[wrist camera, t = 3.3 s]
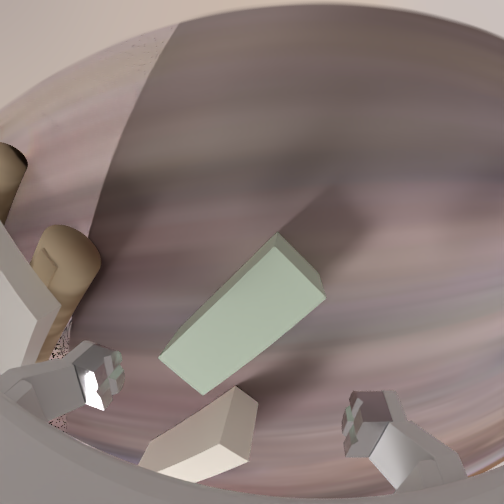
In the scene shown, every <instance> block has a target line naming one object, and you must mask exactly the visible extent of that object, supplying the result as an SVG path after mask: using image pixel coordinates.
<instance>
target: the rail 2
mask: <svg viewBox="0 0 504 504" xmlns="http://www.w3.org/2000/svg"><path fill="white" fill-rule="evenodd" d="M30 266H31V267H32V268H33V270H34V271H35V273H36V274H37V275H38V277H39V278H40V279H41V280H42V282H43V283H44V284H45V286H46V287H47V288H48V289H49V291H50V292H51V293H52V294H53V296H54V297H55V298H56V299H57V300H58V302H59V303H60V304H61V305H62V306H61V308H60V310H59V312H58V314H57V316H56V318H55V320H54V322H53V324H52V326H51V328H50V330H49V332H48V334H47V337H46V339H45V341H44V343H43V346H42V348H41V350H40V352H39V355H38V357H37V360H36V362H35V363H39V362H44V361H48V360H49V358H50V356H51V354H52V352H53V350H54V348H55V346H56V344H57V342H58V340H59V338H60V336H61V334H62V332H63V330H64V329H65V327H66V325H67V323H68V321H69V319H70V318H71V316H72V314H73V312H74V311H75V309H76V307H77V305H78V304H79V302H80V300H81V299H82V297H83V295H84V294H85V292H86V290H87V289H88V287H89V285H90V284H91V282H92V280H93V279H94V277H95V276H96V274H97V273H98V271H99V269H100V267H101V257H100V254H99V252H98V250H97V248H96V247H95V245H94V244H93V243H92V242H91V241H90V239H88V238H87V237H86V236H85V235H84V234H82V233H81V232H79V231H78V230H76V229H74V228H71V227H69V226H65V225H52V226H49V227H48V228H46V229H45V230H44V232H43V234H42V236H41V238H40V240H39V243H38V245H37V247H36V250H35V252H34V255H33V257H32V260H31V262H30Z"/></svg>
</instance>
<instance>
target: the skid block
mask: <svg viewBox="0 0 504 504" xmlns="http://www.w3.org/2000/svg"><path fill="white" fill-rule="evenodd" d="M325 299H326V295H325V291H324V288H323V285H322V282H321V279H320V276H319V273H318V272H317V271H316V270H315V269H314V268H313V267H312V266H311V265H310V264H309V263H308V262H307V261H306V260H305V259H304V258H303V257H302V256H301V255H300V254H299V253H298V252H297V251H296V250H295V249H294V248H293V247H292V246H291V245H290V244H289V243H288V242H287V241H286V240H285V239H284V238H283V237H282V236H281V235H280V234H279V233H278V232H277V233H276V234H275V235H274V236H273V237H271V238H270V239H269V240H268V241H267V242H266V243H265V244H264V245H263V246H262V247H261V248H260V249H259V250H258V251H257V252H256V253H255V254H254V255H253V256H252V257H251V258H250V259H249V260H248V261H247V262H246V263H245V264H244V265H243V266H242V267H241V268H240V269H239V270H238V271H237V272H236V273H235V274H234V275H233V276H232V277H231V278H230V279H229V280H228V281H227V282H226V283H225V284H224V285H223V286H222V287H221V288H220V289H219V290H218V291H217V292H216V293H215V294H214V295H213V296H212V297H210V298H209V299H208V300H207V301H206V302H205V303H204V304H203V305H202V306H201V307H200V308H199V309H198V310H197V311H196V312H195V313H194V314H193V315H192V316H191V317H190V318H189V319H188V320H187V321H186V322H185V323H184V324H183V325H182V326H181V327H180V328H179V329H178V331H177V332H176V333H175V335H174V336H173V338H172V339H171V340H170V342H169V343H168V345H167V346H166V347H165V349H164V350H163V352H162V353H161V354H160V356H159V357H158V359H160V360H161V361H162V362H163V363H164V364H165V365H166V366H168V367H169V368H170V369H171V370H172V371H173V372H175V373H176V374H177V375H178V376H179V377H181V378H182V379H183V380H184V381H185V382H187V383H188V384H189V385H190V386H192V387H193V388H194V389H195V390H197V391H198V392H199V393H200V394H202V395H204V394H206V393H207V392H209V391H210V390H212V389H213V388H214V387H216V386H217V385H219V384H220V383H221V382H223V381H224V380H225V379H227V378H228V377H229V376H231V375H232V374H233V373H235V372H236V371H238V370H239V369H240V368H241V367H243V366H244V365H245V364H247V363H248V362H249V361H251V360H252V359H253V358H255V357H256V356H257V355H258V354H260V353H261V352H262V351H264V350H265V349H266V348H267V347H269V346H270V345H271V344H272V343H274V342H275V341H276V340H277V339H279V338H280V337H281V336H282V335H283V334H285V333H286V332H287V331H288V330H290V329H291V328H292V327H293V326H294V325H296V324H297V323H298V322H299V321H300V320H301V319H303V318H304V317H305V316H306V315H307V314H309V313H310V312H311V311H312V310H313V309H314V308H315V307H317V306H318V305H319V304H320V303H321V302H322V301H323V300H325Z"/></svg>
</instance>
